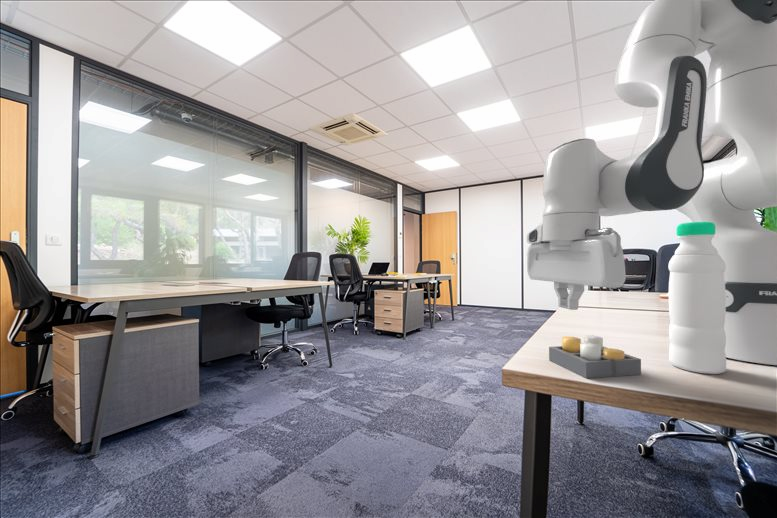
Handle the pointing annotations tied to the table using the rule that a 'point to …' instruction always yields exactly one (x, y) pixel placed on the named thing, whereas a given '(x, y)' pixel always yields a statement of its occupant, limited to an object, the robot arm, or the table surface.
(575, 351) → the button
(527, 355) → the table surface
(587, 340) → the button
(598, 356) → the button
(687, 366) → the water bottle
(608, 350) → the button
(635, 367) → the grey egg tray
